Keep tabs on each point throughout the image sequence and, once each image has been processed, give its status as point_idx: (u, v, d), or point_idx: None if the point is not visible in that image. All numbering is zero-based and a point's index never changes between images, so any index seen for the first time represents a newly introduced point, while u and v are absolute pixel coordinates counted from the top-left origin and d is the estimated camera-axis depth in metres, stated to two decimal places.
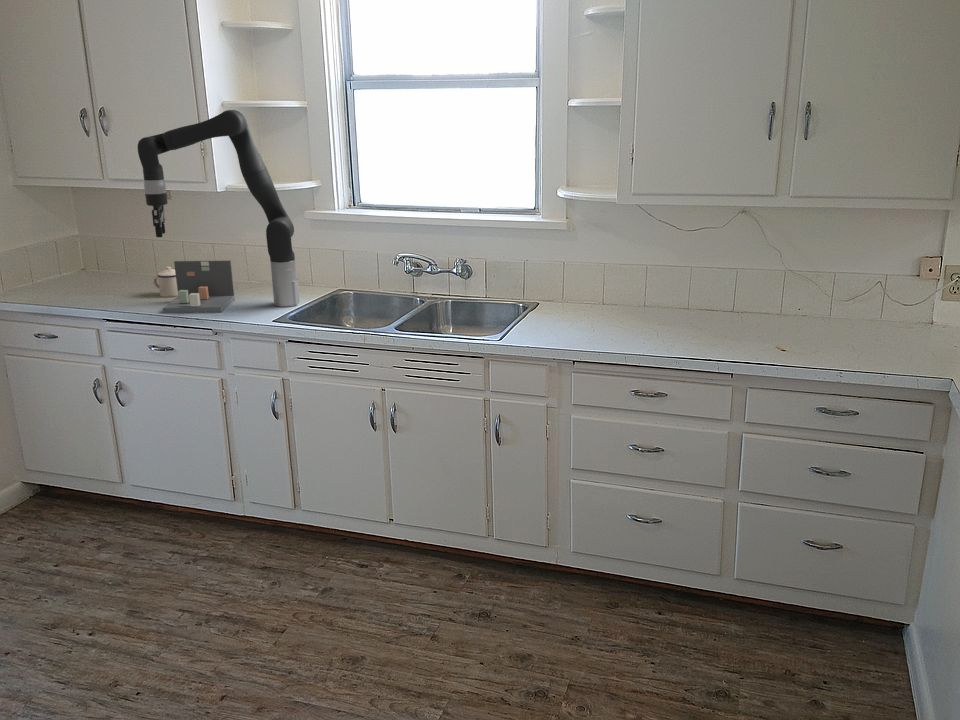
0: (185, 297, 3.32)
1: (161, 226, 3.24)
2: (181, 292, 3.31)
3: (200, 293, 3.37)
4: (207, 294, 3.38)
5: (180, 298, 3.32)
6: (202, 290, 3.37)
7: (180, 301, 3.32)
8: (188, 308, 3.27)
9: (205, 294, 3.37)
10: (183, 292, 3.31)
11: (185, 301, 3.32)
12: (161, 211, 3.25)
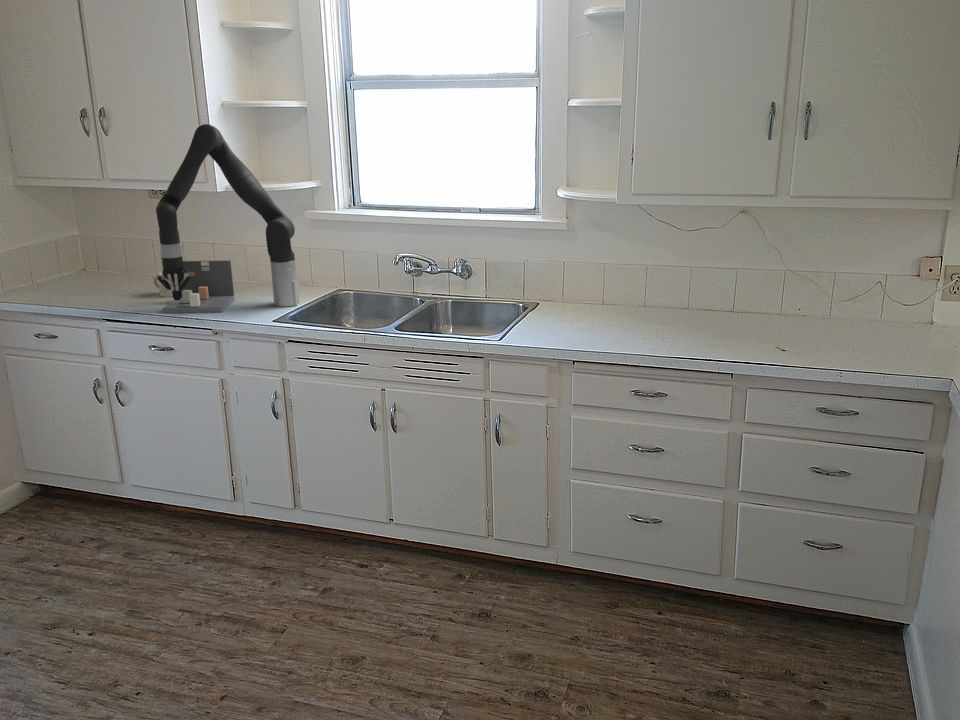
0: None
1: None
2: (185, 292, 3.31)
3: (200, 293, 3.37)
4: (207, 294, 3.38)
5: (184, 298, 3.32)
6: (202, 290, 3.37)
7: (184, 301, 3.32)
8: (188, 308, 3.27)
9: (205, 294, 3.37)
10: (187, 292, 3.31)
11: (189, 301, 3.32)
12: None
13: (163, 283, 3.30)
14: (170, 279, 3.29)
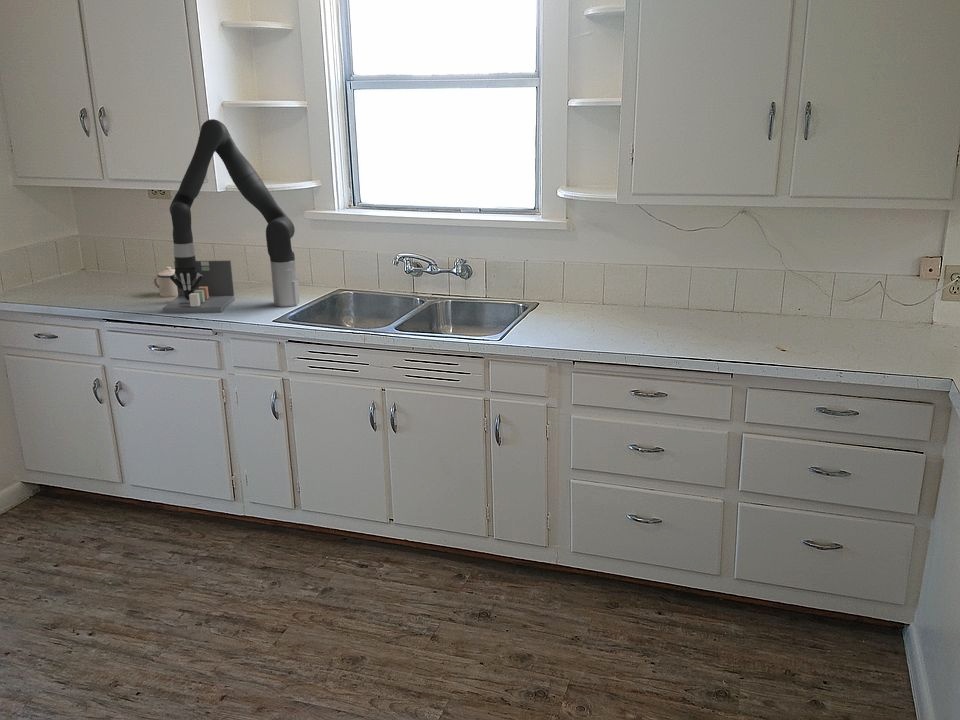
0: (201, 296, 3.32)
1: None
2: (197, 292, 3.31)
3: None
4: (207, 294, 3.38)
5: None
6: None
7: None
8: (188, 308, 3.27)
9: (205, 294, 3.37)
10: (199, 292, 3.31)
11: (201, 301, 3.32)
12: None
13: (175, 282, 3.30)
14: (182, 278, 3.29)
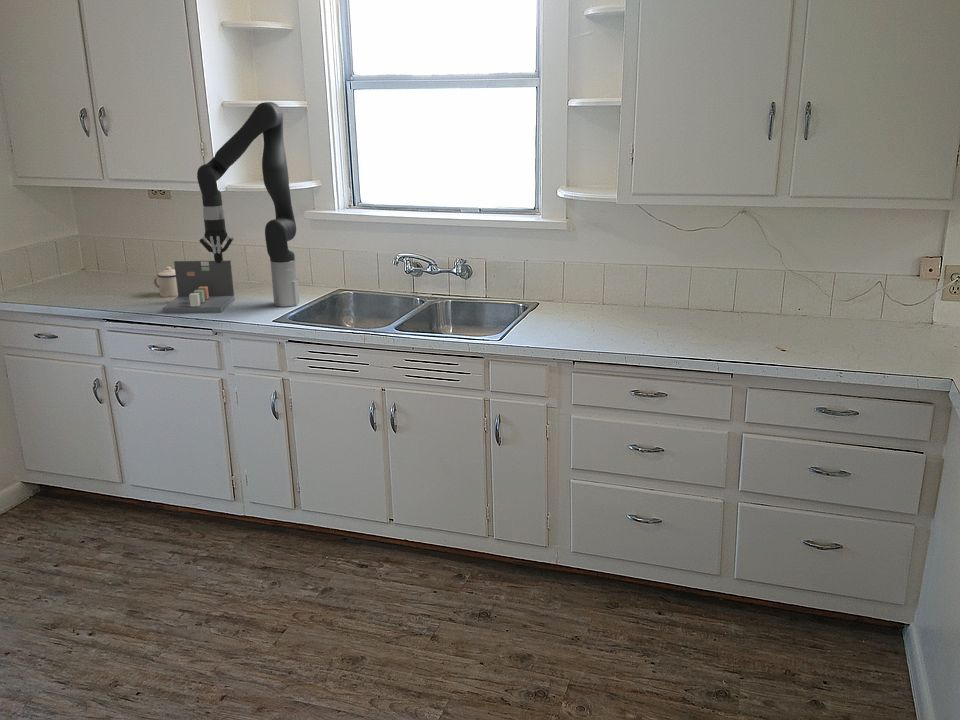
0: (200, 296, 3.32)
1: None
2: (197, 292, 3.31)
3: None
4: (207, 294, 3.38)
5: None
6: None
7: None
8: (188, 308, 3.27)
9: (205, 294, 3.37)
10: (199, 292, 3.31)
11: (201, 301, 3.32)
12: None
13: (205, 246, 3.31)
14: (212, 241, 3.30)
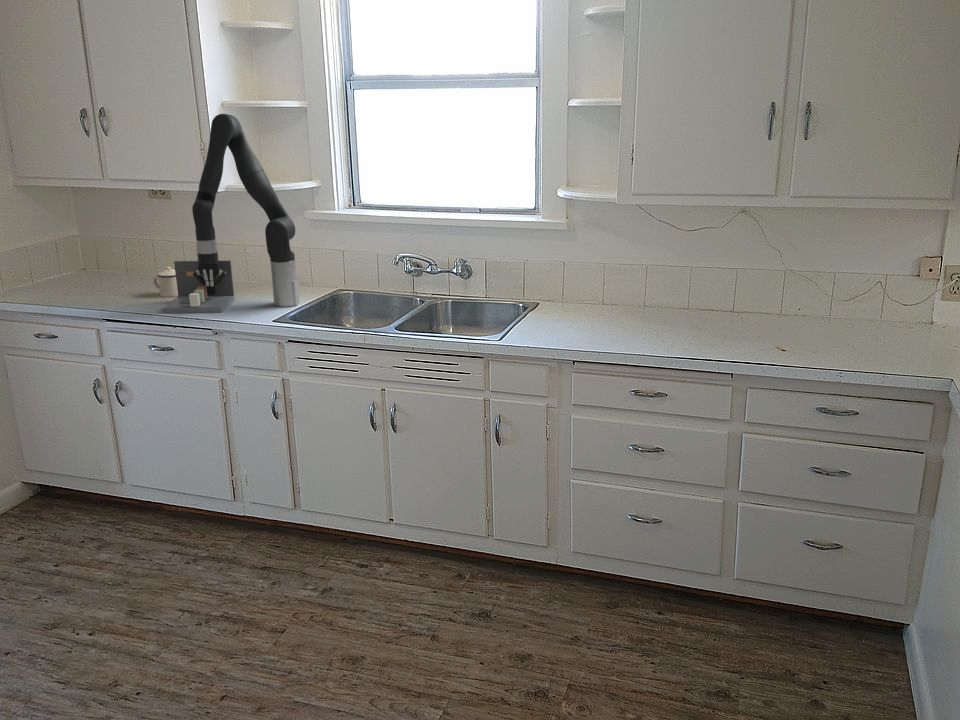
0: (200, 296, 3.32)
1: None
2: (197, 292, 3.31)
3: None
4: (205, 294, 3.38)
5: None
6: None
7: None
8: (188, 308, 3.27)
9: None
10: (199, 292, 3.31)
11: (201, 301, 3.32)
12: None
13: (198, 278, 3.35)
14: (205, 275, 3.34)
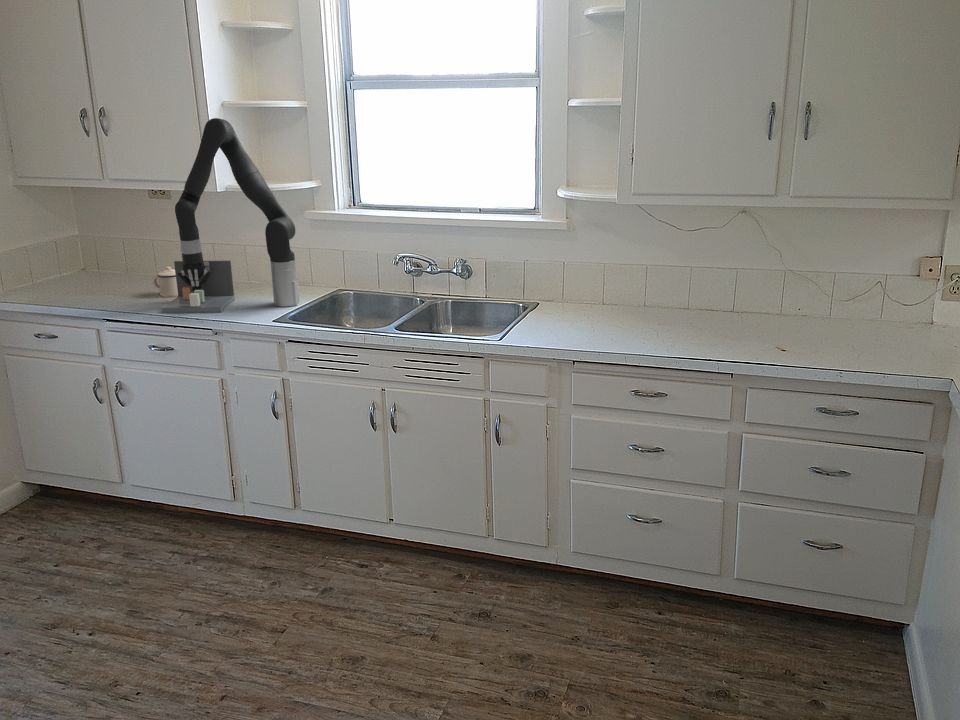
0: (200, 296, 3.32)
1: None
2: (197, 292, 3.31)
3: (184, 293, 3.37)
4: None
5: None
6: (185, 290, 3.37)
7: None
8: (188, 308, 3.27)
9: None
10: (199, 292, 3.31)
11: (201, 301, 3.32)
12: None
13: (184, 279, 3.35)
14: (190, 275, 3.34)
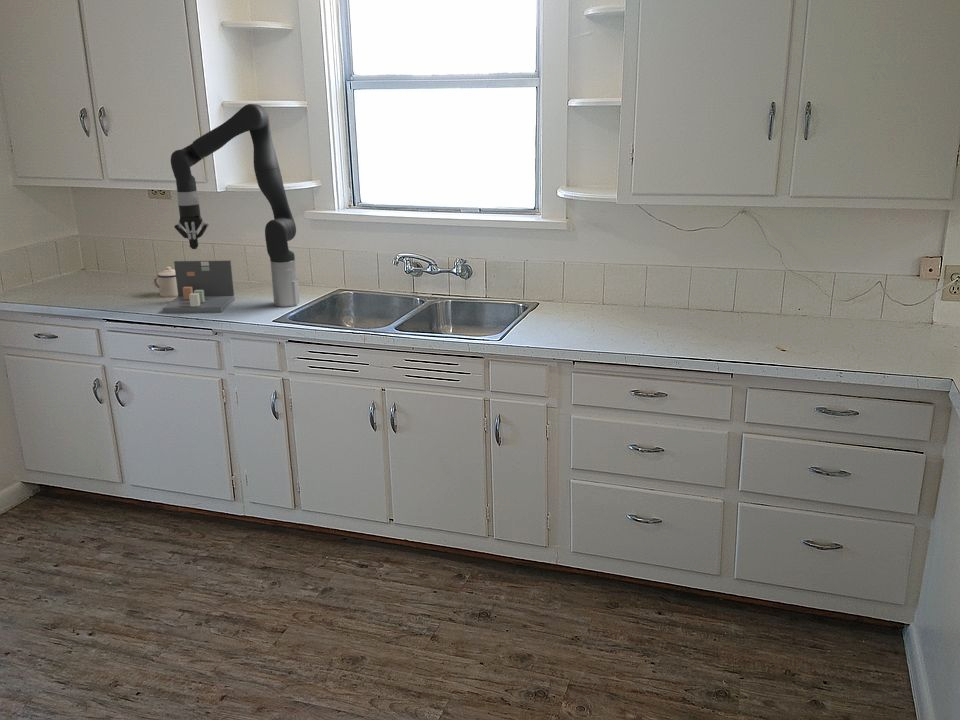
0: (200, 296, 3.32)
1: None
2: (197, 292, 3.31)
3: (184, 293, 3.37)
4: None
5: None
6: (186, 290, 3.37)
7: None
8: (188, 308, 3.27)
9: None
10: (199, 292, 3.31)
11: (201, 301, 3.32)
12: None
13: (180, 232, 3.31)
14: (187, 227, 3.30)
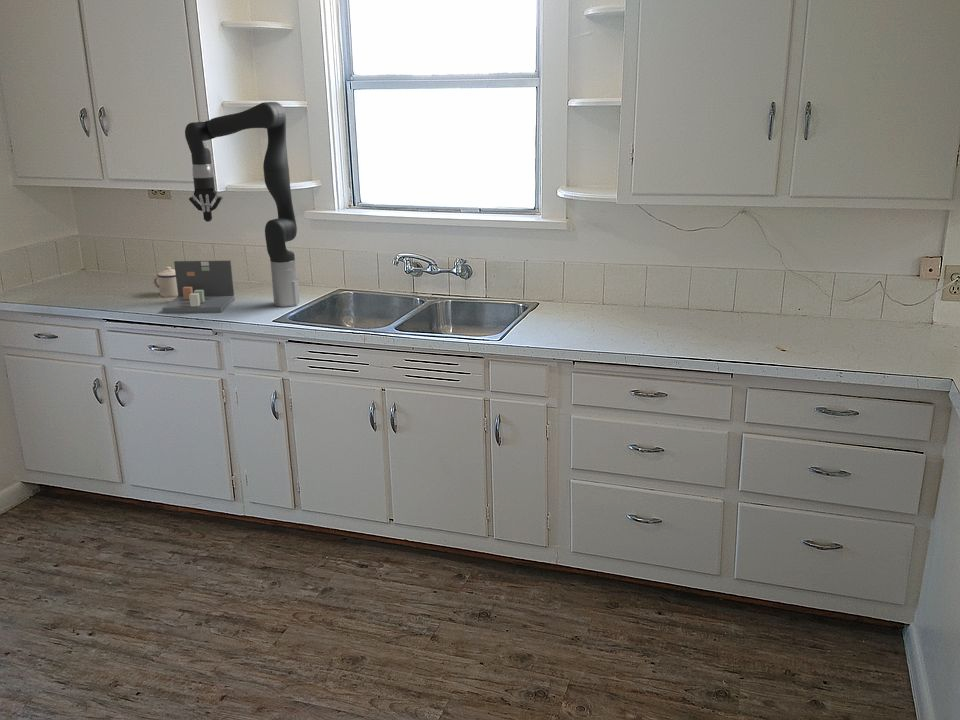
0: (200, 296, 3.32)
1: None
2: (197, 292, 3.31)
3: (184, 293, 3.37)
4: None
5: None
6: (186, 290, 3.37)
7: None
8: (188, 308, 3.27)
9: None
10: (199, 292, 3.31)
11: (201, 301, 3.32)
12: None
13: (194, 204, 3.35)
14: (201, 200, 3.34)
